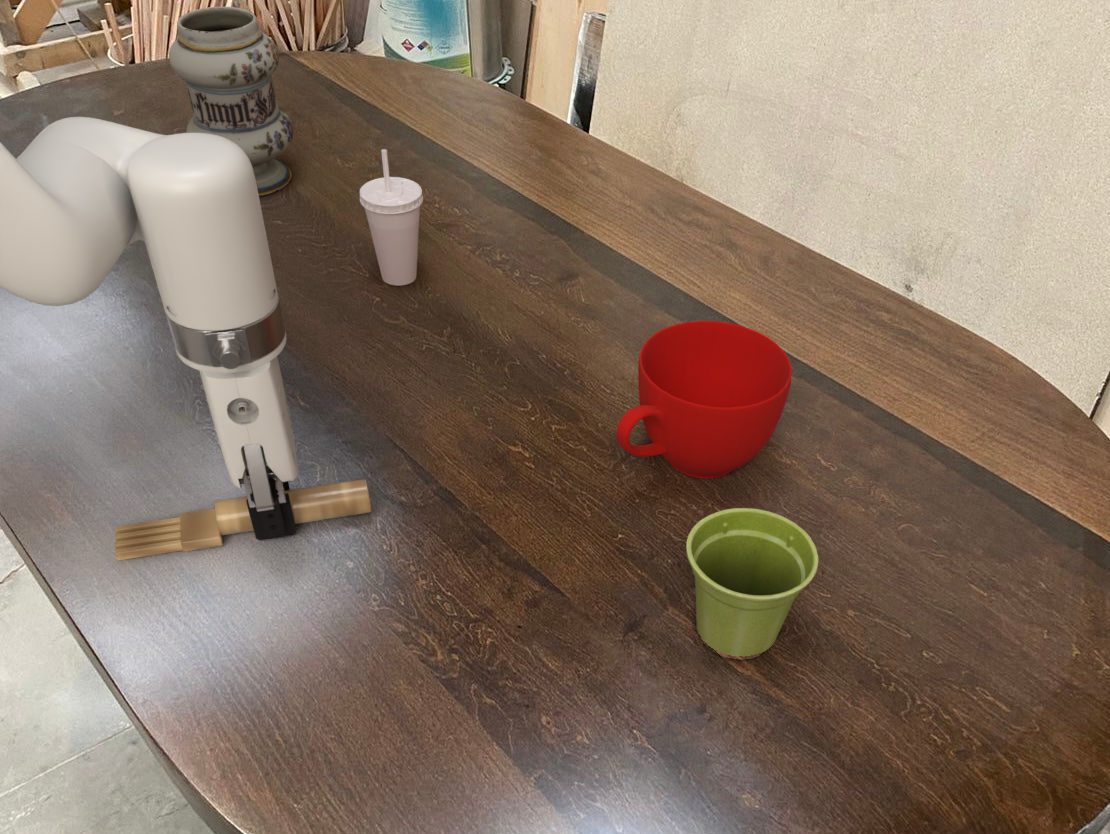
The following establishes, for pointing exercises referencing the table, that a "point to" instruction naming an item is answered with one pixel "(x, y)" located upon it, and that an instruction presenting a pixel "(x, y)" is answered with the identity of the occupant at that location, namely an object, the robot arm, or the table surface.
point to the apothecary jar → (234, 87)
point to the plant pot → (747, 576)
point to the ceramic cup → (707, 396)
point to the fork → (236, 520)
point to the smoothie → (393, 224)
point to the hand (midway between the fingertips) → (274, 519)
